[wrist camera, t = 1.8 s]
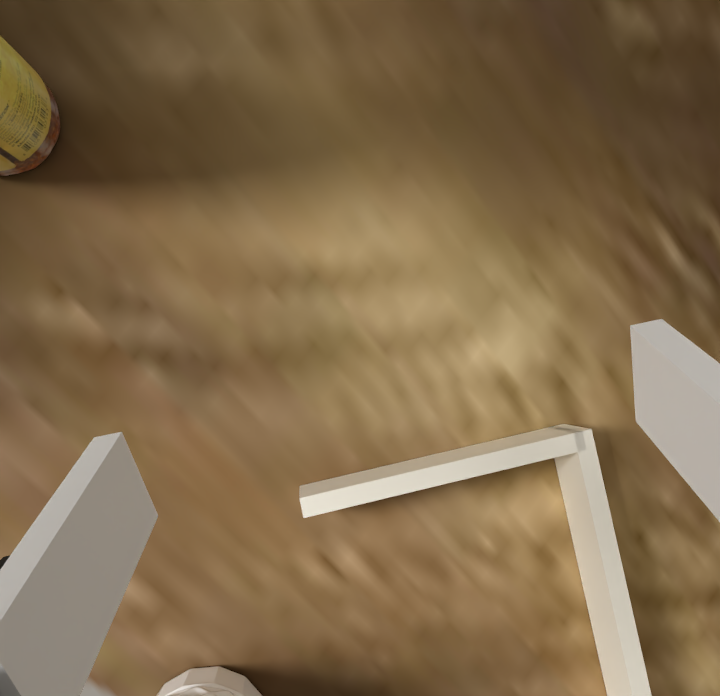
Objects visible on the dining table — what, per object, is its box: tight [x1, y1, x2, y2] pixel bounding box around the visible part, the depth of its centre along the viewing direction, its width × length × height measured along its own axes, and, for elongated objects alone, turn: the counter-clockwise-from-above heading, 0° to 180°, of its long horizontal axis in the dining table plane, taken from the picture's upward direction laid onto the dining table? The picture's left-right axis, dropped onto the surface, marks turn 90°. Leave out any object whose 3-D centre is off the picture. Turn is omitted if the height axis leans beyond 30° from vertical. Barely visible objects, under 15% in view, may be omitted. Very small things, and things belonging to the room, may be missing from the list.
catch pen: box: [299, 424, 652, 696], centre depth 34 cm, size 16×17×4 cm
